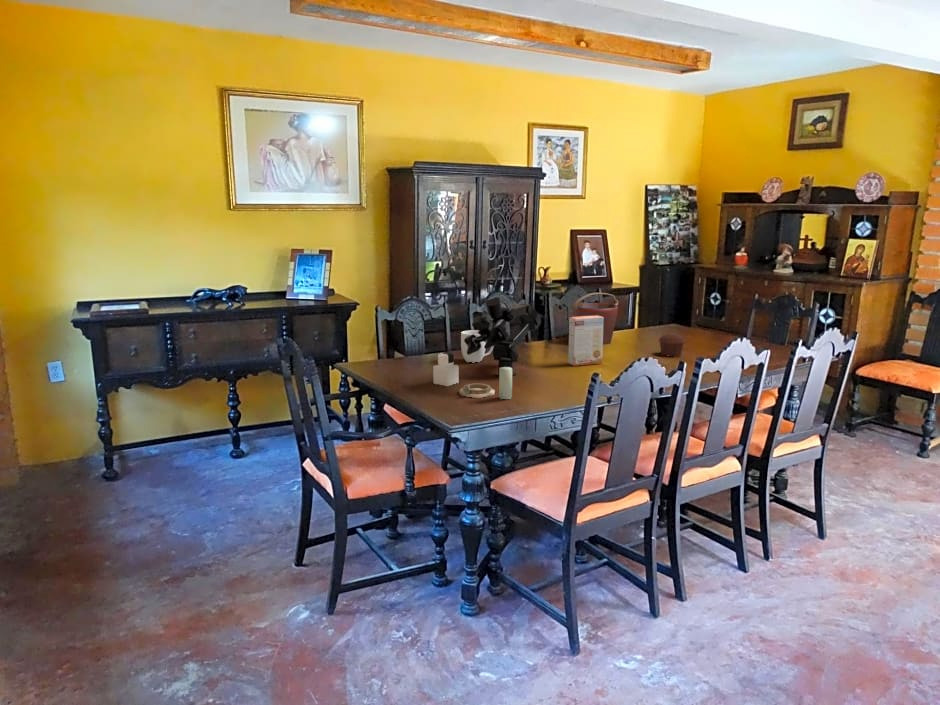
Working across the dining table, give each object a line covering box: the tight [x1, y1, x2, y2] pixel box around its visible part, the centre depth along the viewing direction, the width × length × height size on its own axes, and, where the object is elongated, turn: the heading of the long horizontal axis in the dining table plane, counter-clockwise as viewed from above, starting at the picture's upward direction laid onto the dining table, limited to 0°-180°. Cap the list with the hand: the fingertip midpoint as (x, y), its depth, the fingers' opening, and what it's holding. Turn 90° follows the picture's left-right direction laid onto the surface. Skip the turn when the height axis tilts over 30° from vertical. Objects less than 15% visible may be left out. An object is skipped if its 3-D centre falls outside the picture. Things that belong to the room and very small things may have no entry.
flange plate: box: [458, 382, 496, 399], centre depth 251 cm, size 13×13×4 cm
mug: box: [460, 329, 494, 364], centre depth 302 cm, size 15×11×13 cm
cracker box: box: [567, 315, 604, 367], centre depth 296 cm, size 14×6×21 cm, turn 109°
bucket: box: [572, 292, 619, 346], centre depth 343 cm, size 24×22×25 cm
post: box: [498, 367, 513, 400], centre depth 244 cm, size 5×5×11 cm
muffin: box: [658, 332, 686, 357], centre depth 316 cm, size 12×11×10 cm
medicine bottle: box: [432, 351, 460, 387], centre depth 264 cm, size 7×7×12 cm
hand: (476, 350), depth 255 cm, fingers open, 9 cm apart
